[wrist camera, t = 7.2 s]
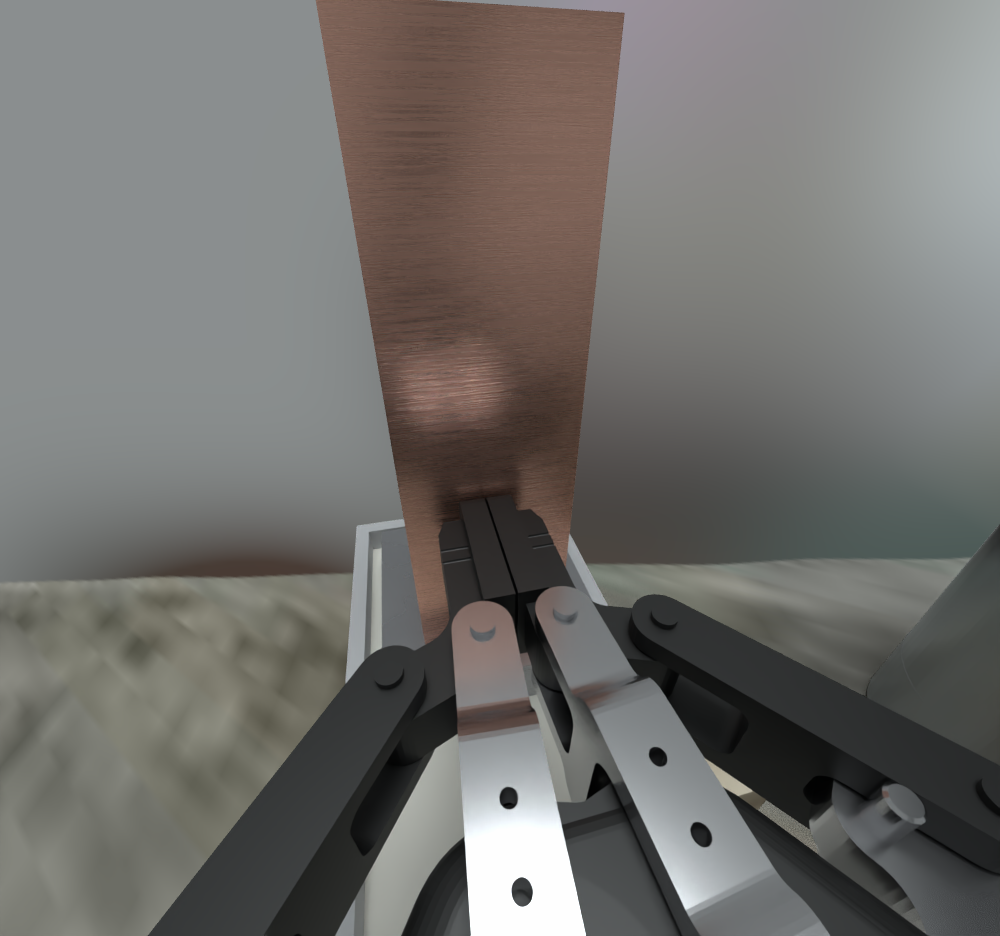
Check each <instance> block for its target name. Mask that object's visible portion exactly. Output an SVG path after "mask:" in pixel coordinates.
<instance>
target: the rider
mask: <svg viewBox="0 0 1000 936" xmlns="http://www.w3.org/2000/svg"><path fill="white" fill-rule="evenodd" d="M316 4H317V10H318V16H319V22H320V27H321V33H322V39H323V45H324V51H325V57H326V63H327V69H328V74H329V81H330V86H331V92H332V98H333V104H334V110H335V116H336V122H337V128H338V133H339V139H340V145H341V151H342V157H343V163H344V169H345V175H346V180H347V187H348V192H349V198H350V204H351V210H352V216H353V222H354V228H355V234H356V240H357V246H358V251H359V257H360V263H361V268H362V275H363V280H364V286H365V293H366V299H367V304H368V310H369V316H370V322H371V327H372V333H373V340H374V346H375V352H376V357H377V363H378V369H379V375H380V381H381V387H382V393H383V399H384V404H385V410H386V416H387V422H388V428H389V434H390V440H391V446H392V452H393V457H394V464H395V469H396V475H397V481H398V487H399V493H400V499H401V505H402V511H403V517H404V522H405V528H404V529H397V530H391V531H384V532H381V543H382V648H384V647H387V646H393V645H400V646H405V647H408V648H411V649H412V650H414V651H415V650H417V649H418V648H420V647H422V646H424V645H426V644H428V643H429V642H431V641H433V640H434V639H435V638H437V637H438V636H439V635H440V634H441V633H442V632H443V630H444V629H445V628H446V626H447V624H448V621H449V618H450V617H449V611H448V604H447V598H446V592H445V585H444V579H443V573H442V564H441V555H440V547H439V538H438V535H439V533H440V530H441V528H442V525H443V523H444V522H449V521H455V520H460V515H459V502H462V501H468V500H475V499H482V498H484V499H485V498H488V497H495V496H502V495H509V494H510V495H511V497H512V499H513V501H514V504H515V506H516V508H517V511H520V510H526V509H531V510H532V511H533V512H535V513H536V514H537V515H538V516H539V517H541V518H542V519H543V521H544V523H545V525H546V527H547V529H548V532H549V535H550V536H551V538H552V540H553V542H554V546H556V548H557V550H558V552H559V555H560V557H561V559H562V561H563V563H564V565H565V567H566V569H567V571H568V573H569V575H570V578H571V580H572V582H573V584H574V586H575V587H576V589H578V590H579V591H581V592H583V593H584V594H586V595H587V596H588V597H589V598H590V600H591V601H592V602H593V600H592V598H591V596H590V595H589V593H588V591H587V589H586V587H585V585H584V583H583V581H582V579H581V577H580V575H579V573H578V571H577V569H576V567H575V565H574V563H573V561H572V559H571V557H570V555H569V553H568V542H569V532H570V523H571V514H572V504H573V494H574V485H575V476H576V466H577V456H578V447H579V438H580V429H581V419H582V409H583V400H584V390H585V380H586V371H587V361H588V353H589V344H590V333H591V324H592V314H593V306H594V296H595V287H596V277H597V268H598V259H599V249H600V239H601V230H602V220H603V211H604V202H605V192H606V183H607V173H608V164H609V155H610V145H611V135H612V126H613V117H614V108H615V107H614V106H615V98H616V89H617V79H618V70H619V60H620V51H621V41H622V31H623V23H624V13H619V12H604V11H588V10H573V9H558V8H542V7H528V6H512V5H498V4H482V3H481V4H480V3H467V2H452V1H437V0H316ZM520 656H521V661H522V666H523V671H524V676H525V680H526V685H527V690H528V695H529V696H533V695H537V694H536V691H535V689H534V686H533V683H532V679H531V671H532V665H531V662H530V659H529V656H528V652H527V653H522V654H520Z"/></svg>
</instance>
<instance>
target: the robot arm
mask: <svg viewBox="0 0 1000 936" xmlns="http://www.w3.org/2000/svg"><path fill="white" fill-rule="evenodd" d="M459 515H460V520H455V521H449V522H444V523H443V525H442V528H441V530H440V533H439V535H438V538H439V547H440V555H441V564H442V573H443V579H444V585H445V592H446V598H447V604H448V611H449V617H450V618H449V621H448V624H447V626H446V628H445V629H444V630H443V632H442V633H441V634H440V635H439V636H438V637H437V638H435V639H434V640H433V641H431V642H429V643H428V644H426V645H424V646H422V647H420V648H418V649H417V650H415V651H414V650H412V649H411V648H408V647H405V646H400V645H393V646H387V647H384V648H381V649H379V650H377V651H375V652H374V653H372V654H371V655H370V656H368V657H367V658H366V659H365V660H364V661H363V662H362V664H361V665H360V666H359V668H358V669H357V670H356V671H355V673H354V674H353V675H352V676H351V678H350V679H349V680H348V682H347V683H346V684H345V685H344V687H343V688H342V689H341V690H340V692H339V693H338V694H337V696H336V697H335V698H334V699H333V701H332V702H331V703H330V704H329V706H328V707H327V708H326V710H325V711H324V712H323V713H322V715H321V716H320V717H319V718H318V720H317V721H316V722H315V724H314V725H313V726H312V727H311V729H310V730H309V731H308V732H307V734H306V735H305V736H304V738H303V739H302V740H301V741H300V743H299V744H298V745H297V746H296V748H295V749H294V750H293V752H292V753H291V754H290V755H289V757H288V758H287V759H286V760H285V762H284V763H283V764H282V766H281V767H280V768H279V769H278V771H277V772H276V773H275V774H274V776H273V777H272V778H271V780H270V781H269V782H268V783H267V785H266V786H265V787H264V788H263V790H262V791H261V792H260V794H259V795H258V796H257V797H256V799H255V800H254V801H253V802H252V804H251V805H250V806H249V808H248V809H247V810H246V811H245V813H244V814H243V815H242V816H241V818H240V819H239V820H238V822H237V823H236V824H235V825H234V827H233V828H232V829H231V830H230V832H229V833H228V834H227V836H226V837H225V838H224V839H223V841H222V842H221V843H220V844H219V846H218V847H217V848H216V850H215V851H214V852H213V853H212V855H211V856H210V857H209V858H208V860H207V861H206V862H205V864H204V865H203V866H202V867H201V869H200V870H199V871H198V872H197V874H196V875H195V876H194V878H193V879H192V880H191V881H190V883H189V884H188V885H187V886H186V888H185V889H184V890H183V892H182V893H181V894H180V895H179V897H178V898H177V899H176V900H175V902H174V903H173V904H172V906H171V907H170V908H169V909H168V911H167V912H166V913H165V914H164V916H163V917H162V918H161V920H160V921H159V922H158V923H157V925H156V926H155V927H154V928H153V930H152V931H151V932H150V934H149V935H148V936H335V935H336V933H337V931H338V929H339V928H340V926H341V924H342V922H343V920H344V918H345V916H346V915H347V913H348V911H349V909H350V907H351V905H352V903H353V902H354V900H355V898H356V896H357V894H358V892H359V890H360V889H361V887H362V885H363V883H364V881H365V879H366V877H367V876H368V874H369V872H370V870H371V868H372V866H373V865H374V863H375V861H376V859H377V857H378V855H379V853H380V852H381V850H382V848H383V846H384V844H385V842H386V840H387V839H388V837H389V835H390V833H391V831H392V829H393V827H394V826H395V824H396V822H397V820H398V818H399V816H400V814H401V813H402V811H403V809H404V807H405V805H406V803H407V801H408V800H409V798H410V796H411V794H412V792H413V790H414V788H415V787H416V785H417V783H418V781H419V779H420V777H421V775H422V774H423V772H424V770H425V768H426V766H427V764H428V763H429V761H430V759H431V757H432V755H433V753H434V750H435V749H436V748H437V747H439V746H440V745H442V744H443V743H445V742H446V741H448V740H449V739H451V738H452V737H454V736H455V735H457V734H458V745H459V760H460V775H461V790H462V805H463V820H464V835H465V836H464V837H463V838H462V839H460V840H459V841H458V842H457V843H456V844H455V845H454V846H453V847H451V848H450V849H449V851H448V852H447V853H446V854H445V855H444V856H443V857H442V858H441V860H440V861H439V862H438V864H437V865H436V866H435V868H434V869H433V871H432V872H431V874H430V875H429V877H428V878H427V880H426V882H425V884H424V886H423V887H422V889H421V891H420V893H419V895H418V897H417V899H416V902H415V904H414V906H413V909H412V911H411V913H410V916H409V918H408V920H407V923H406V925H405V928H404V930H403V932H402V935H401V936H1000V524H999V525H998V527H997V528H996V529H995V530H994V532H993V533H992V534H991V535H990V536H989V537H988V539H987V540H986V541H985V542H984V543H983V545H982V546H981V547H980V548H979V550H978V551H977V552H976V553H975V554H974V556H973V557H972V558H971V559H970V560H969V562H968V563H967V564H966V565H965V566H964V568H963V569H962V570H961V571H960V572H959V574H958V575H957V576H956V577H955V578H954V580H953V581H952V582H951V583H950V584H949V586H948V587H947V588H946V589H945V591H944V592H943V593H942V594H941V595H940V597H939V598H938V599H937V600H936V601H935V603H934V604H933V605H932V606H931V607H930V609H929V610H928V611H927V612H926V613H925V615H924V616H923V617H922V618H921V619H920V621H919V622H918V623H917V624H916V625H915V627H914V628H913V629H912V630H911V631H910V632H909V633H908V634H907V636H906V637H905V638H904V639H903V640H902V642H901V643H900V644H899V645H898V646H897V648H896V649H895V650H894V651H893V653H892V654H891V655H890V656H889V657H888V659H887V660H886V661H885V662H884V663H883V665H882V666H881V667H880V668H879V669H878V671H877V672H876V673H875V674H874V675H873V677H872V678H871V681H870V683H869V685H868V688H867V697H865V696H863V695H861V694H859V693H857V692H855V691H853V690H851V689H849V688H847V687H845V686H843V685H841V684H839V683H837V682H835V681H833V680H832V679H830V678H828V677H826V676H824V675H822V674H820V673H818V672H816V671H814V670H812V669H810V668H808V667H806V666H804V665H802V664H800V663H798V662H796V661H794V660H792V659H790V658H788V657H786V656H784V655H783V654H781V653H779V652H777V651H775V650H773V649H771V648H769V647H767V646H765V645H763V644H761V643H759V642H757V641H755V640H753V639H751V638H749V637H747V636H745V635H743V634H741V633H739V632H737V631H735V630H734V629H732V628H730V627H728V626H726V625H724V624H722V623H720V622H718V621H716V620H714V619H712V618H710V617H708V616H706V615H704V614H702V613H700V612H698V611H696V610H694V609H692V608H690V607H688V606H686V605H685V604H683V603H681V602H679V601H677V600H675V599H672V598H670V597H667V596H663V595H655V594H654V595H647V596H644V597H641V598H640V599H638V600H637V601H636V602H635V604H634V606H633V608H624V607H613V606H605V605H601V604H597V603H595V602H592V601H591V600H590V598H589V597H588V596H587V595H586V594H584V593H583V592H581V591H579V590H578V589H576V587H575V586H574V584H573V582H572V580H571V578H570V575H569V573H568V571H567V569H566V567H565V565H564V563H563V561H562V559H561V557H560V555H559V552H558V550H557V548H556V546H554V542H553V540H552V538H551V536H550V535H549V532H548V529H547V527H546V525H545V523H544V521H543V519H542V518H541V517H539V516H538V515H537V514H536V513H535V512H533V511H532V510H531V509H526V510H520V511H517V508H516V506H515V504H514V501H513V499H512V497H511V495H510V494H509V495H502V496H495V497H488V498H485V499H484V498H482V499H475V500H468V501H462V502H459ZM527 652H528V656H529V659H530V662H531V665H532V671H531V679H532V683H533V686H534V689H535V691H536V694H537V697H538V699H539V702H540V704H541V707H542V710H543V712H544V715H545V717H546V720H547V722H548V725H549V728H550V730H551V733H552V735H553V738H554V741H555V743H556V746H557V748H558V751H559V754H560V756H561V759H562V763H563V767H564V772H565V779H566V784H567V788H568V791H569V795H570V798H571V801H572V802H556V797H555V793H554V788H553V784H552V779H551V774H550V770H549V765H548V761H547V756H546V752H545V747H544V742H543V738H542V733H541V729H540V724H539V720H538V717H537V714H536V711H535V709H534V708H532V706H531V703H530V699H529V695H528V690H527V685H526V680H525V676H524V671H523V666H522V661H521V656H520V654H522V653H527ZM705 759H707V760H708V761H710V762H711V763H713V764H714V765H716V766H717V767H719V768H720V769H722V770H723V771H724V772H726V773H727V774H729V775H730V776H732V777H733V778H735V779H736V780H738V781H739V782H741V783H742V784H744V785H745V786H747V787H748V788H749V789H751V790H752V791H754V792H755V793H757V794H758V795H760V796H761V797H763V798H764V799H766V800H767V801H769V802H770V803H772V804H773V805H775V806H776V807H777V808H779V809H780V810H782V811H783V812H785V813H786V814H788V815H789V816H791V817H792V818H794V819H795V820H797V821H798V822H800V823H801V824H802V825H804V826H805V827H807V828H808V829H810V830H811V833H812V836H813V839H814V841H815V843H816V845H817V851H818V854H817V853H815V852H814V851H813V850H811V849H810V848H809V847H807V846H806V845H804V844H803V843H802V842H800V841H799V840H798V839H796V838H795V837H794V836H792V835H791V834H789V833H788V832H787V831H785V830H784V829H783V828H781V827H780V826H779V825H777V824H776V823H775V822H773V821H772V820H770V819H769V818H768V817H766V816H765V815H764V814H762V813H761V812H760V811H758V810H757V809H755V808H754V807H753V806H751V805H750V804H749V803H747V802H746V801H745V800H743V799H742V798H740V797H739V796H737V795H736V794H734V793H732V792H731V791H729V790H727V789H725V788H724V787H722V785H721V783H720V782H719V780H718V779H717V777H716V775H715V774H714V772H713V771H712V769H711V768H710V766H709V764H708V763H707V761H706V760H705Z"/></svg>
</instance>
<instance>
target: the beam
mask: <svg viewBox="0 0 1000 936" xmlns="http://www.w3.org/2000/svg"><path fill="white" fill-rule="evenodd" d="M404 528H405V522H404V519H400V520H393V521H386V522H380V523H373V524H366V525H359V526H357V533H356V546H355V560H354V574H353V587H352V601H351V615H350V629H349V642H348V656H347V670H346V683H347V682H348V680H349V679H350V678H351V676H352V675H353V674H354V673H355V671H356V670H357V669H358V668H359V666H360V665H361V664H362V662H363V661H364V660H365V659H366V658H367V657H368V656H370V655H371V654H372V653H374V652H375V651H377V650H379V649H381V648H382V543H381V532H384V531H391V530H397V529H404ZM568 553H569V555H570V557H571V559H572V561H573V563H574V565H575V567H576V569H577V571H578V573H579V575H580V577H581V579H582V581H583V583H584V585H585V587H586V589H587V591H588V593H589V595H590V596H591V598H592V600H593V602H595V603H597V604H601V605H605V606H608V605H607V603H606V601H605V599H604V597H603V595H602V594H601V592H600V590H599V588H598V586H597V584H596V582H595V580H594V579H593V577H592V575H591V573H590V571H589V569H588V567H587V565H586V564H585V562H584V560H583V558H582V556H581V554H580V552H579V551H578V549H577V547H576V545H575V543H574V541H573V539H572V537H571V536H570V534H569V542H568ZM529 699H530V703H531V706H532V708H534V709H535V711H536V714H537V717H538V720H539V724H540V729H541V733H542V738H543V742H544V747H545V752H546V756H547V761H548V765H549V770H550V774H551V779H552V784H553V788H554V793H555V797H556V802H572V801H571V798H570V795H569V791H568V788H567V784H566V779H565V772H564V767H563V763H562V759H561V756H560V754H559V751H558V748H557V746H556V743H555V741H554V738H553V735H552V733H551V730H550V728H549V725H548V722H547V720H546V717H545V715H544V712H543V710H542V707H541V704H540V702H539V699H538V697H537V695H533V696H529ZM464 836H465V835H464V820H463V805H462V790H461V775H460V760H459V745H458V734H457V735H455V736H454V737H452V738H451V739H449V740H448V741H446V742H445V743H443V744H442V745H440V746H439V747H437V748H436V749H435V750H434V753H433V755H432V757H431V759H430V761H429V763H428V764H427V766H426V768H425V770H424V772H423V774H422V775H421V777H420V779H419V781H418V783H417V785H416V787H415V788H414V790H413V792H412V794H411V796H410V798H409V800H408V801H407V803H406V805H405V807H404V809H403V811H402V813H401V814H400V816H399V818H398V820H397V822H396V824H395V826H394V827H393V829H392V831H391V833H390V835H389V837H388V839H387V840H386V842H385V844H384V846H383V848H382V850H381V852H380V853H379V855H378V857H377V859H376V861H375V863H374V865H373V866H372V868H371V870H370V872H369V874H368V876H367V877H366V879H365V881H364V883H363V885H362V887H361V889H360V890H359V892H358V894H357V896H356V898H355V900H354V902H353V903H352V905H351V907H350V909H349V911H348V913H347V915H346V916H345V918H344V920H343V922H342V924H341V926H340V928H339V929H338V931H337V933H336V935H335V936H401V935H402V932H403V930H404V928H405V925H406V923H407V920H408V918H409V916H410V913H411V911H412V909H413V906H414V904H415V902H416V899H417V897H418V895H419V893H420V891H421V889H422V887H423V886H424V884H425V882H426V880H427V878H428V877H429V875H430V874H431V872H432V871H433V869H434V868H435V866H436V865H437V864H438V862H439V861H440V860H441V858H442V857H443V856H444V855H445V854H446V853H447V852H448V851H449V849H450V848H451V847H453V846H454V845H455V844H456V843H457V842H458V841H459V840H460V839H462V838H463V837H464Z"/></svg>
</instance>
